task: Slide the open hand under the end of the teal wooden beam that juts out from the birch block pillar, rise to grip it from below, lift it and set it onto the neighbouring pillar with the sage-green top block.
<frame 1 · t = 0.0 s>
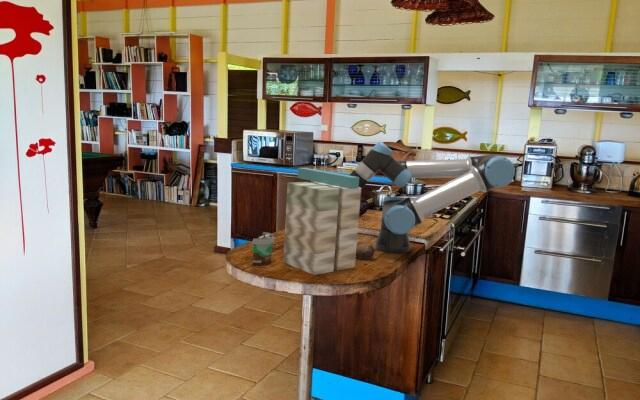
hand: (327, 214, 206), 15 cm above the counter, fingers open, 13 cm apart
food container: (264, 262, 187), on the counter
block stand: (319, 264, 188), on the counter
mushroom: (363, 258, 202), on the counter
beam: (326, 182, 191), point 30 cm above the counter, touching block stand
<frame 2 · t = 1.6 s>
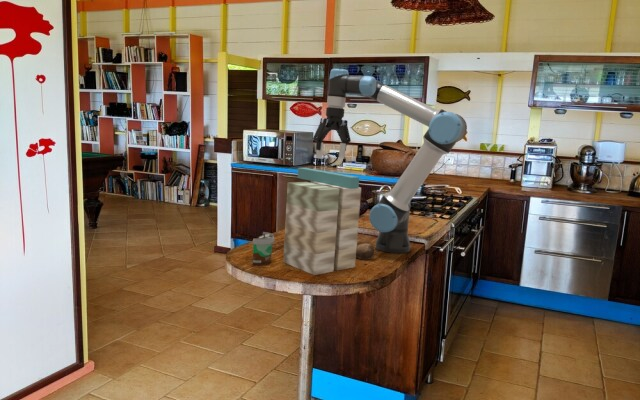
hand: (330, 158, 213), 38 cm above the counter, fingers open, 13 cm apart
nothing on the counter moved.
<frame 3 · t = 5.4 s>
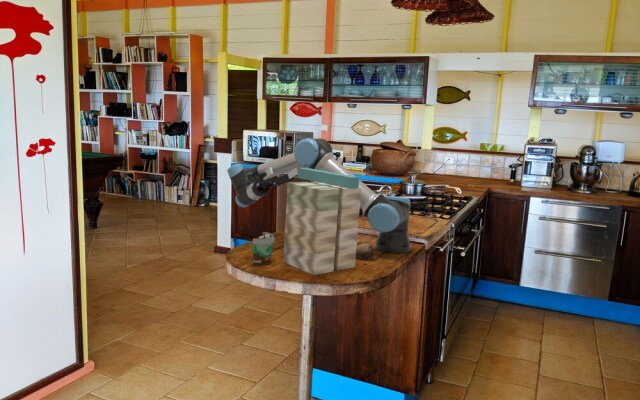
hand: (284, 170, 210), 32 cm above the counter, fingers open, 13 cm apart
nothing on the counter moved.
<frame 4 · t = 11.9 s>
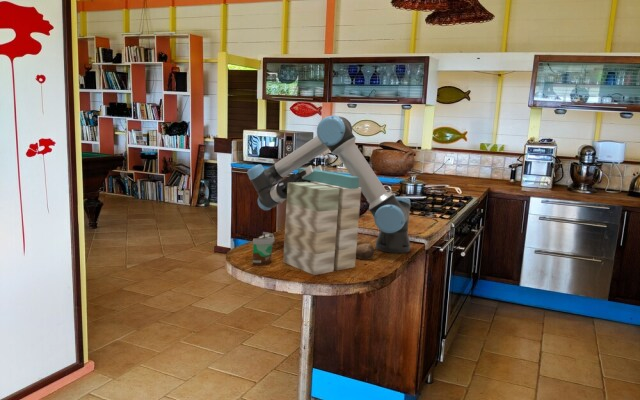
hand: (316, 168, 195), 35 cm above the counter, fingers closed on beam, 4 cm apart
beam: (326, 182, 191), point 30 cm above the counter, touching block stand, gripper
everything else where it was.
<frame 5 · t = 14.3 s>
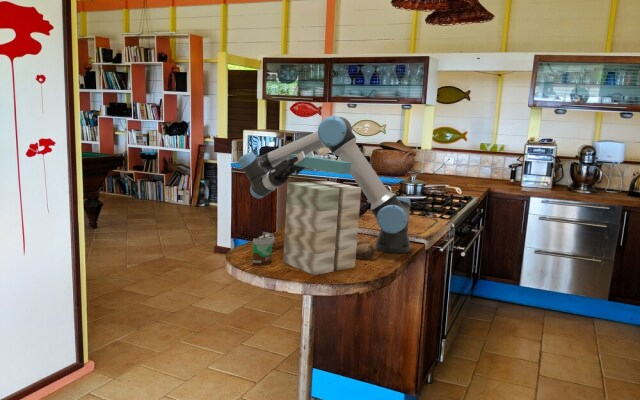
hand: (308, 154, 192), 40 cm above the counter, fingers closed on beam, 4 cm apart
beam: (318, 168, 188), point 35 cm above the counter, touching gripper
everything else where it was.
when the fingers open (36 cm above the counter, at t = 17.0 s): beam stays where it is, resting on block stand.
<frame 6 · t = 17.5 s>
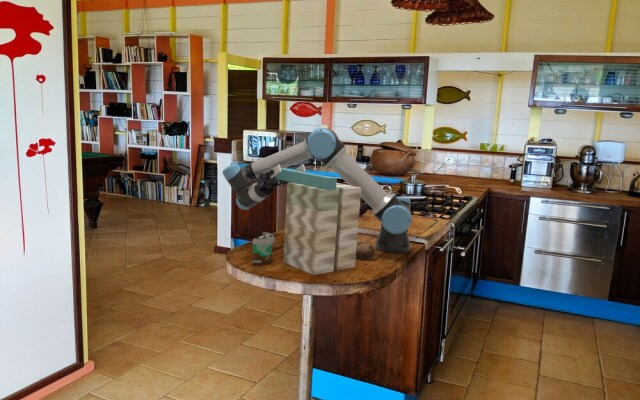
hand: (292, 167, 188), 35 cm above the counter, fingers open, 11 cm apart
beam: (304, 183, 184), point 30 cm above the counter, touching block stand
everything else where it was.
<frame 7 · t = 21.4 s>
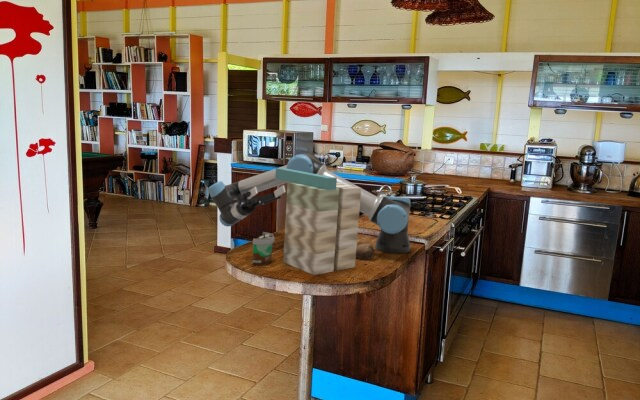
hand: (270, 189, 198), 25 cm above the counter, fingers open, 13 cm apart
nothing on the counter moved.
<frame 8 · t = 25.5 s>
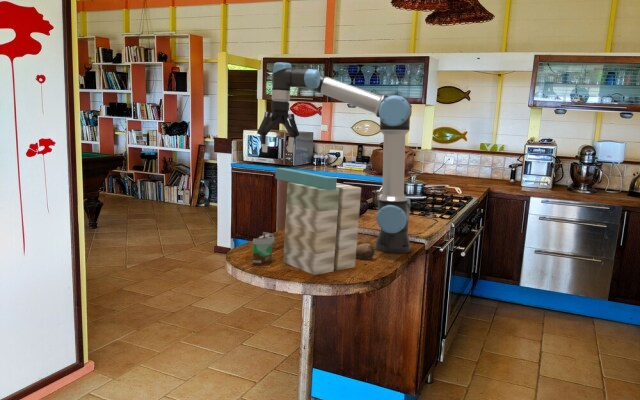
hand: (277, 152, 213), 39 cm above the counter, fingers open, 13 cm apart
nothing on the counter moved.
at the end: beam 0.1 cm from the target spot on the block stand, point 30.0 cm above the block stand's base; the gripper is holding nothing; beam tilted 0° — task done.
